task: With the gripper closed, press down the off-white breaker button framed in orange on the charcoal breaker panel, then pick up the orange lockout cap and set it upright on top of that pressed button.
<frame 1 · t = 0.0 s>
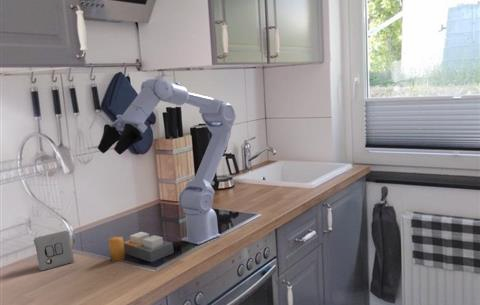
hand: (108, 151, 116), 32 cm above the table, tool tilted 50°, fingers open, 7 cm apart
lockout cap: (118, 258, 130), on the table
breaker panel: (147, 252, 133), on the table
tagged button: (140, 239, 135), point 3 cm above the table, slide at 0.0 cm
electrical switch: (55, 265, 130), on the table
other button: (153, 243, 130), point 3 cm above the table, slide at 0.0 cm
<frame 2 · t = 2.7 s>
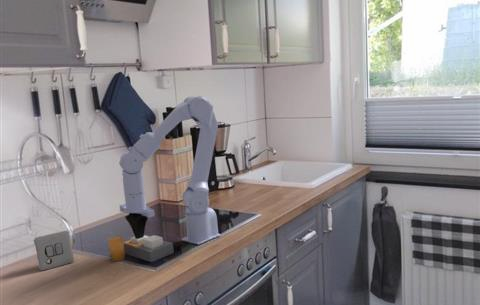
hand: (139, 237, 135), 4 cm above the table, tool pointing down, fingers closed, pressing on tagged button
tagged button: (140, 242, 135), point 3 cm above the table, slide at 0.9 cm, touching gripper
everything else where it was.
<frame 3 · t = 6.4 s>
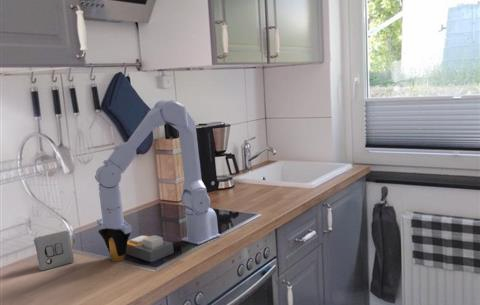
hand: (117, 253, 130), 2 cm above the table, tool pointing down, fingers closed on lockout cap, 4 cm apart
lockout cap: (118, 258, 130), on the table, touching gripper
tagged button: (140, 243, 135), point 2 cm above the table, slide at 1.2 cm
everything else where it was.
when the fingers open (7 cm above the table, at t = 9.1 s): lockout cap drops 1 cm, resting on tagged button.
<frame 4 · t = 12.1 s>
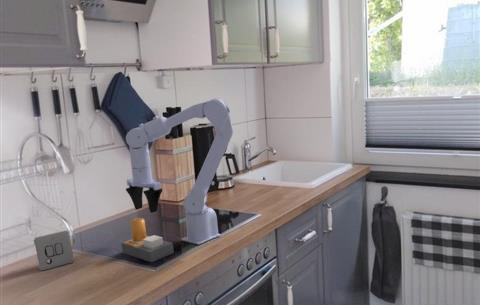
hand: (146, 210, 141), 10 cm above the table, tool pointing down, fingers open, 7 cm apart
lockout cap: (139, 239, 135), point 4 cm above the table, touching tagged button
tagged button: (140, 244, 135), point 2 cm above the table, slide at 1.5 cm, touching lockout cap
everything else where it was.
at the end: tagged button slide at 1.5 cm; lockout cap 0.1 cm from the tagged button (horizontally); lockout cap tilted 0° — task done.
